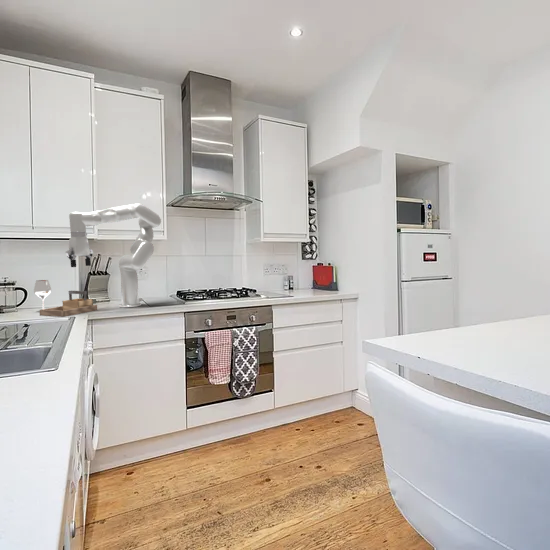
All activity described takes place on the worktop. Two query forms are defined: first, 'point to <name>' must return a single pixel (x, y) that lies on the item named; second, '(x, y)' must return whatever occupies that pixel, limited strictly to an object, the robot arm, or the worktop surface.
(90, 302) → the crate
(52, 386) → the worktop surface
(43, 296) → the wineglass
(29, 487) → the worktop surface
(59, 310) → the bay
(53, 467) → the worktop surface
